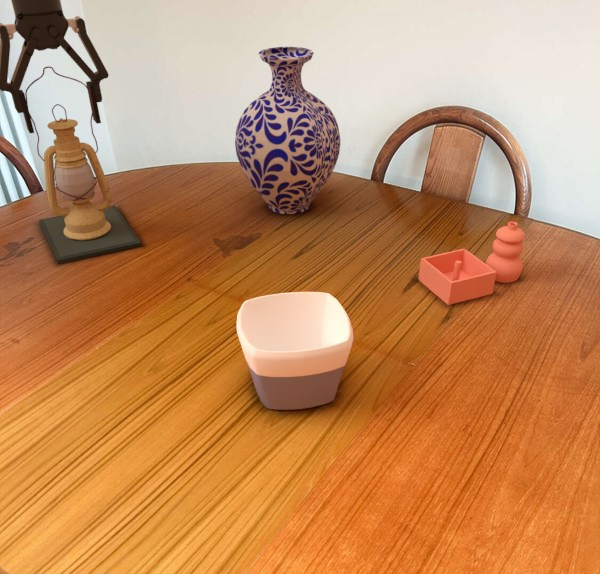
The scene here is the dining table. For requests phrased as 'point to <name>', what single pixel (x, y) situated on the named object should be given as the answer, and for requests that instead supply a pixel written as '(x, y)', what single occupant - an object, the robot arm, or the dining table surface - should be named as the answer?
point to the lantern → (75, 179)
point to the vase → (287, 136)
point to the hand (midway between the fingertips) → (64, 126)
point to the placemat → (80, 249)
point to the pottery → (474, 268)
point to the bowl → (295, 347)
